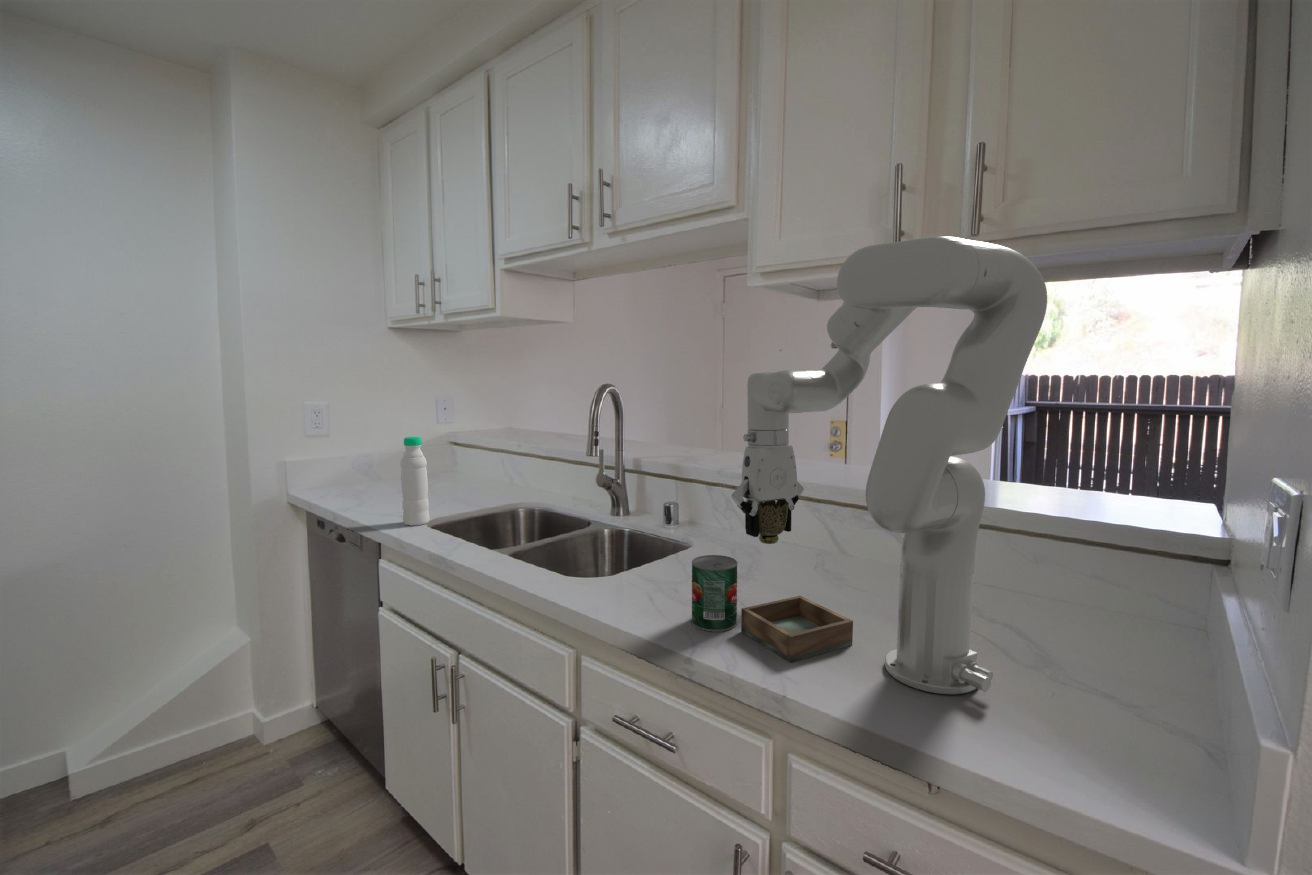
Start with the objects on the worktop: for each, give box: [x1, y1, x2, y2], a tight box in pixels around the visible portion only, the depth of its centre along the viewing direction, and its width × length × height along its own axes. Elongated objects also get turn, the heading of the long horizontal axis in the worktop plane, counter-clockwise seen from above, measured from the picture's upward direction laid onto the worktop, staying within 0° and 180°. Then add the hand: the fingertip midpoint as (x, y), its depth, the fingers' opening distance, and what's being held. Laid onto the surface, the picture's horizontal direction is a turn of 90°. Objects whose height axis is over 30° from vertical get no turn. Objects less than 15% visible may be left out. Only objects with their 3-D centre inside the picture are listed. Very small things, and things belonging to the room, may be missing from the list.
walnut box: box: [740, 595, 854, 663], centre depth 101 cm, size 13×13×4 cm
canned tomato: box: [691, 554, 739, 633], centre depth 107 cm, size 8×8×11 cm
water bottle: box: [400, 436, 431, 527], centre depth 178 cm, size 7×7×25 cm
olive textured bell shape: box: [751, 500, 789, 545], centre depth 117 cm, size 8×7×8 cm
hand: (768, 532), depth 117 cm, fingers closed on olive textured bell shape, 6 cm apart
